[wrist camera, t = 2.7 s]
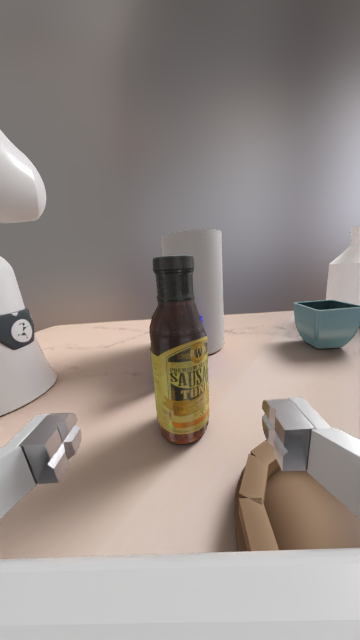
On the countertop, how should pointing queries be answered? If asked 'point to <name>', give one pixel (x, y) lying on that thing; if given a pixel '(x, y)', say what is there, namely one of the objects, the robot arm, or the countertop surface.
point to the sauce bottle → (179, 353)
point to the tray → (288, 509)
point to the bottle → (346, 273)
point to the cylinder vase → (203, 277)
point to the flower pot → (327, 322)
